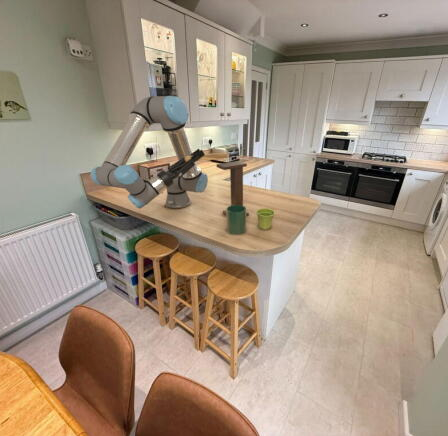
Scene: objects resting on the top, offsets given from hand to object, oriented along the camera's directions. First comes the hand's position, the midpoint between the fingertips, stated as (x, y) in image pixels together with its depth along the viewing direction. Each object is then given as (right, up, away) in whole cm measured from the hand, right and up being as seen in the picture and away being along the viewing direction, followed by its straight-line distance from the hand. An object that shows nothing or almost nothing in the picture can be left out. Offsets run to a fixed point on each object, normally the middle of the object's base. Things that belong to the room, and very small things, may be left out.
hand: (201, 151), depth 110 cm
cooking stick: (+2, -3, +3) cm, 5 cm away
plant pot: (+31, -36, +13) cm, 50 cm away
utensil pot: (+16, -38, +10) cm, 42 cm away
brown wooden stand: (+14, -30, +26) cm, 42 cm away
